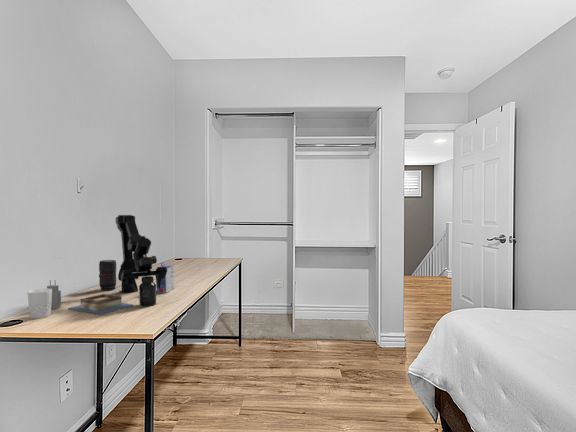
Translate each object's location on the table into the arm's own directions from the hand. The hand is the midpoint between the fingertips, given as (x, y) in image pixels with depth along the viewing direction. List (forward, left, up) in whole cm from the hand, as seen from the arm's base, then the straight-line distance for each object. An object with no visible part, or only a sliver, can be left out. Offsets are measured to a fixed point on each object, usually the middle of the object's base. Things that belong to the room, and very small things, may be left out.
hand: (148, 289), depth 160 cm
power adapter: (-32, -21, -7) cm, 39 cm away
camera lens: (-45, +15, -7) cm, 48 cm away
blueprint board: (-15, -11, -7) cm, 20 cm away
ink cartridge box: (-15, +25, -7) cm, 30 cm away
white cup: (-25, -30, -7) cm, 40 cm away
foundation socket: (-15, -11, -7) cm, 20 cm away
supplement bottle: (-1, +1, -7) cm, 7 cm away
